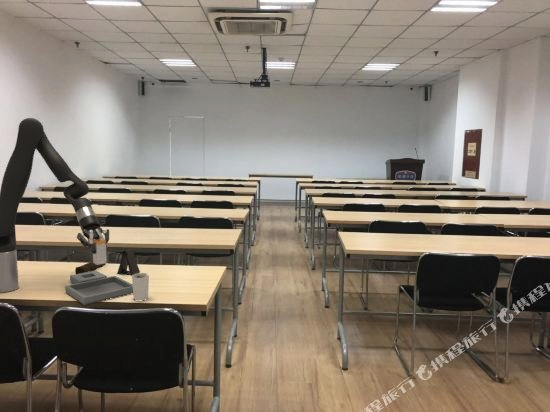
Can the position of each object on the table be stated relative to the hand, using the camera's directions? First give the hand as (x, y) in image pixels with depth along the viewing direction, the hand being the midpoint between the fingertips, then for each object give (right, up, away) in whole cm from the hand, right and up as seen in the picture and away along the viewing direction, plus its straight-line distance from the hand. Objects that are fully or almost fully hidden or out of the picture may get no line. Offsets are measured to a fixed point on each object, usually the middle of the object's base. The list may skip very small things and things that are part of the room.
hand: (100, 251), depth 182 cm
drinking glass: (+18, -19, -3) cm, 27 cm away
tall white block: (-1, -5, +1) cm, 5 cm away
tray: (-1, -18, +3) cm, 18 cm away
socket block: (-12, -16, +17) cm, 26 cm away
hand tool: (-19, -13, +37) cm, 44 cm away
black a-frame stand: (+1, -14, +32) cm, 35 cm away
